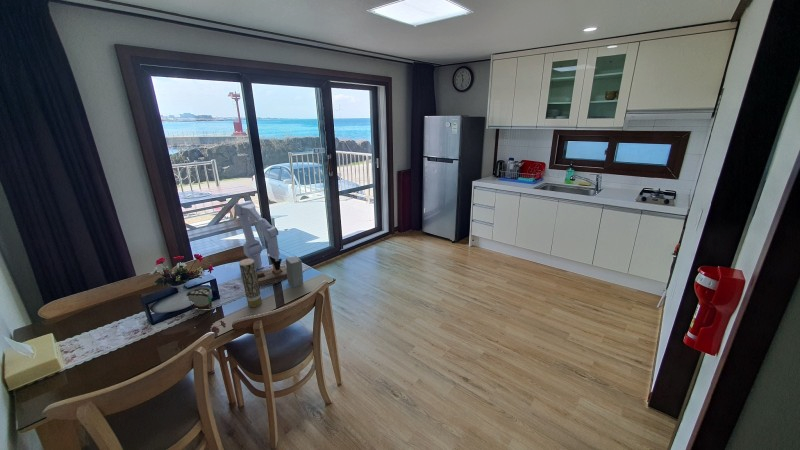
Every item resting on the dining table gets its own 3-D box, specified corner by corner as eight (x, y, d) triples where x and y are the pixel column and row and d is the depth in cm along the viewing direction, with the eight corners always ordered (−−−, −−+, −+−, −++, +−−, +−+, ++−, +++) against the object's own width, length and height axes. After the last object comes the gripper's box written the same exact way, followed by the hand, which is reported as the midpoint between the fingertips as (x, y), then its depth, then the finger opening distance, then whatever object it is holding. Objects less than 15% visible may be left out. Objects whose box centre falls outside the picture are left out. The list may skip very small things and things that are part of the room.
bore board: (248, 279, 186) (247, 274, 185) (285, 269, 197) (284, 265, 196) (251, 288, 177) (250, 283, 176) (290, 277, 188) (289, 272, 187)
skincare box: (287, 282, 182) (283, 258, 177) (298, 278, 187) (295, 254, 181) (293, 288, 176) (289, 263, 171) (305, 283, 181) (301, 259, 175)
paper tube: (256, 308, 158) (248, 265, 150) (245, 307, 160) (235, 264, 151) (264, 301, 165) (256, 259, 156) (253, 299, 166) (245, 258, 157)
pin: (273, 274, 190) (271, 263, 187) (280, 272, 192) (278, 261, 189) (275, 277, 187) (273, 265, 184) (281, 275, 189) (279, 264, 186)
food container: (220, 303, 163) (216, 287, 159) (212, 310, 157) (208, 294, 153) (198, 302, 164) (194, 286, 160) (190, 309, 158) (185, 292, 154)
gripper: (263, 244, 186) (267, 264, 191) (268, 252, 175) (272, 273, 180) (275, 241, 190) (278, 261, 195) (281, 250, 179) (284, 270, 183)
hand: (276, 267), depth 188 cm, fingers open, 7 cm apart
